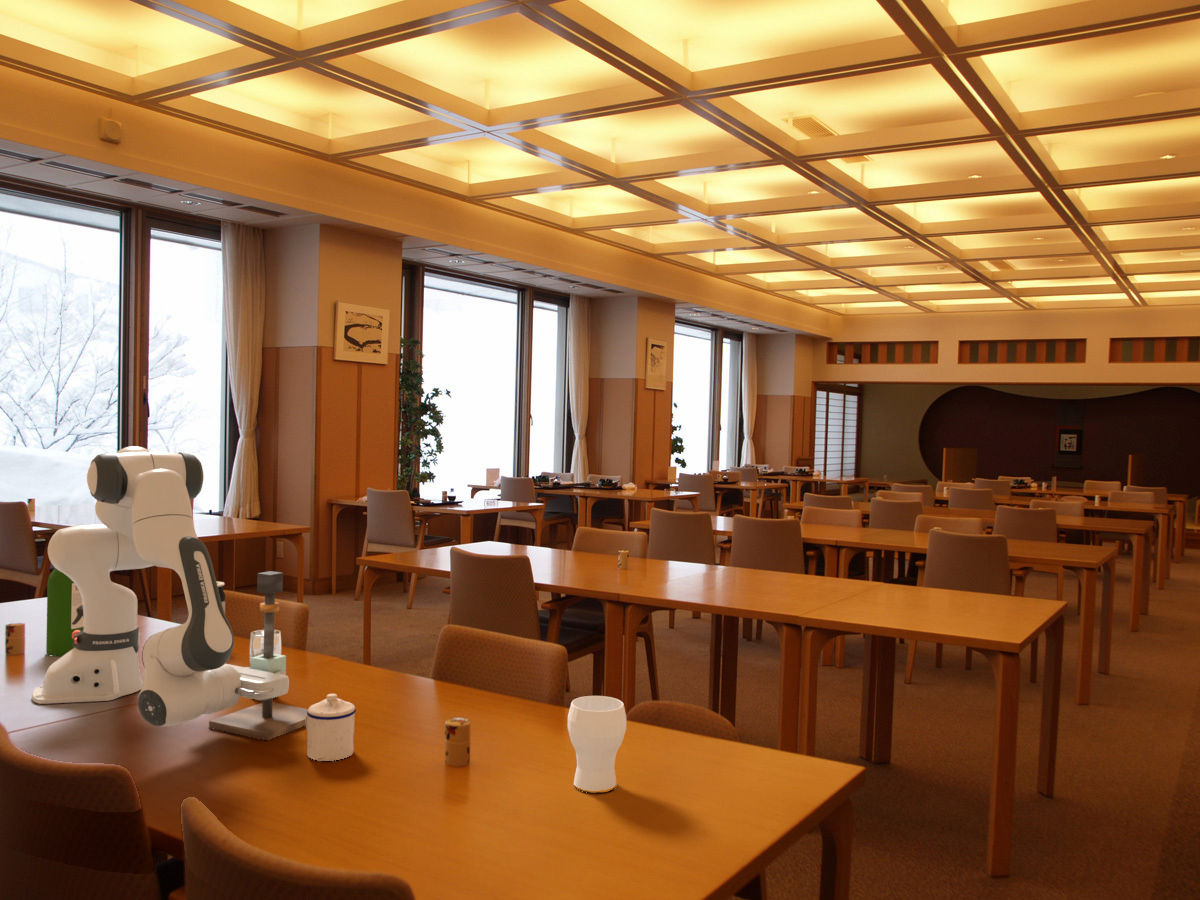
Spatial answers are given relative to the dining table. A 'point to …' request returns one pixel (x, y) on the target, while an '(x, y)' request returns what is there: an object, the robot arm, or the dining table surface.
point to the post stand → (268, 715)
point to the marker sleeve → (269, 663)
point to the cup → (596, 739)
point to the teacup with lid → (330, 729)
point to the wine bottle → (62, 613)
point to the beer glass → (258, 643)
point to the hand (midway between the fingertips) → (271, 671)
